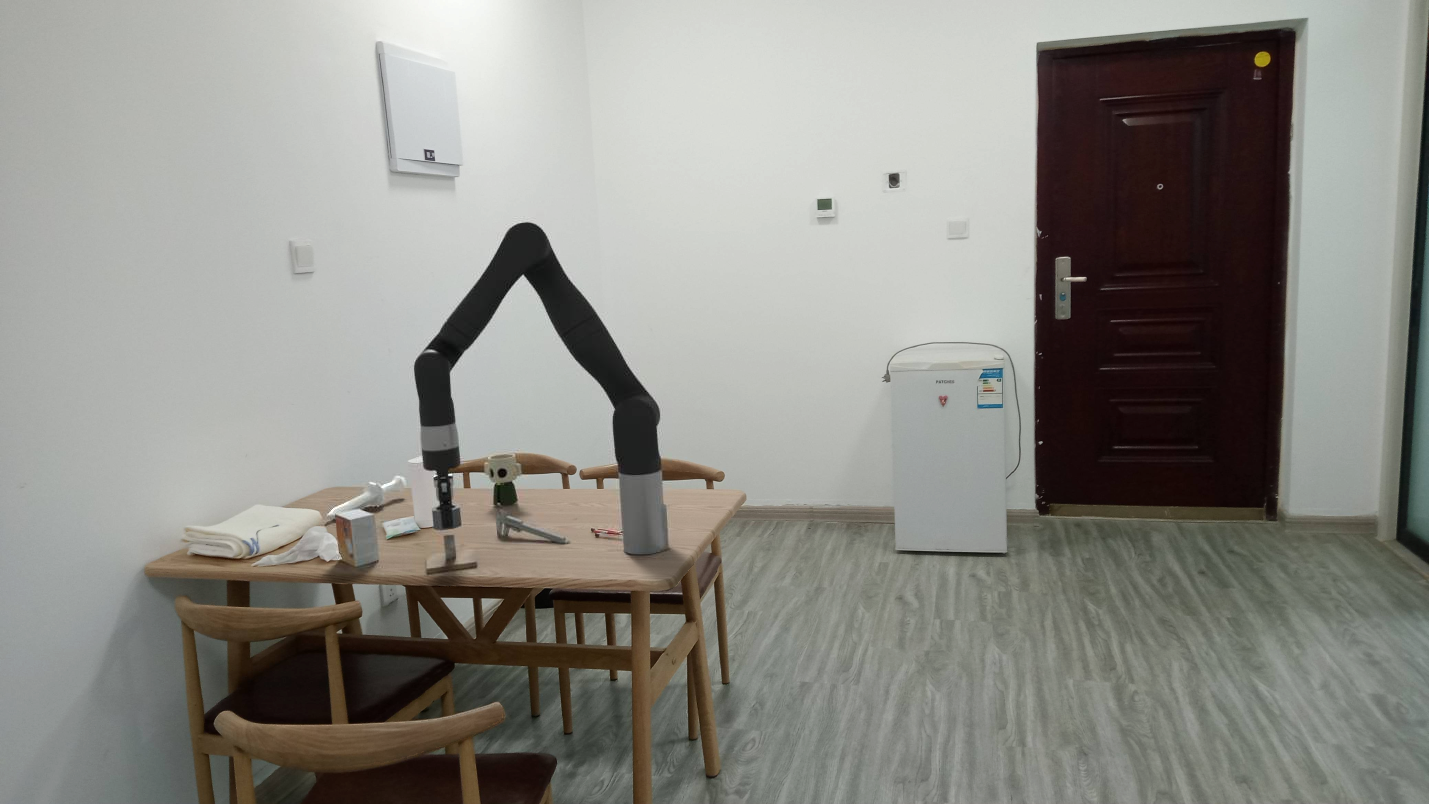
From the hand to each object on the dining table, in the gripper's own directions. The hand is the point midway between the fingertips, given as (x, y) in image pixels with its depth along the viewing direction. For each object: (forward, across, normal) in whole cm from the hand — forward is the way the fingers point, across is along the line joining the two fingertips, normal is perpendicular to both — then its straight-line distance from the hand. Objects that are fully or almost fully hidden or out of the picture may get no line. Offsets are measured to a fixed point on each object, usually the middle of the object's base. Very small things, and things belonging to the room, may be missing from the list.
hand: (447, 523), depth 197 cm
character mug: (+9, +44, -15) cm, 47 cm away
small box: (+9, +11, +19) cm, 24 cm away
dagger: (+9, +57, +20) cm, 61 cm away
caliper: (+9, +10, -18) cm, 23 cm away
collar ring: (0, 0, 0) cm, 0 cm away
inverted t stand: (+9, 0, 0) cm, 9 cm away
